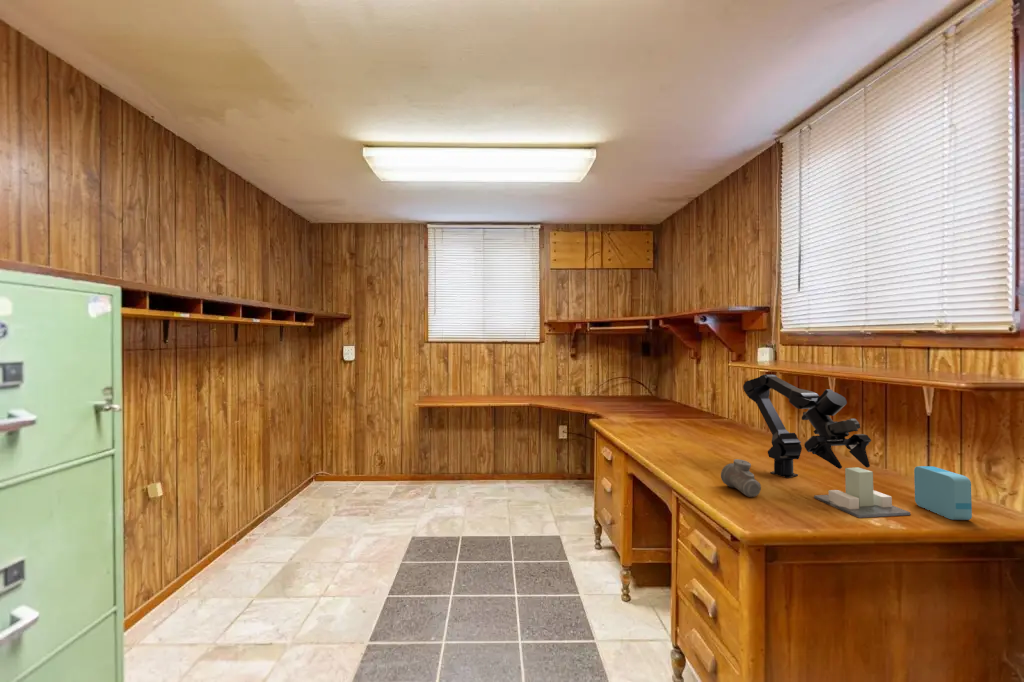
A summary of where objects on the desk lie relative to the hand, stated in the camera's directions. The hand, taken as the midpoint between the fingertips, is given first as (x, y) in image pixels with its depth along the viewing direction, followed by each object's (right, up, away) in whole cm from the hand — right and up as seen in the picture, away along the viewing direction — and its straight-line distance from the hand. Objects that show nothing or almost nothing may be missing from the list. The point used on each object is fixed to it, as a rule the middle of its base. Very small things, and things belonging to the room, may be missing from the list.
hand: (854, 467), depth 123 cm
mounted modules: (0, -11, -1) cm, 11 cm away
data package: (+19, -11, -7) cm, 23 cm away
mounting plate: (0, -11, -1) cm, 11 cm away
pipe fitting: (-28, -12, +12) cm, 32 cm away
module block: (0, -10, -1) cm, 10 cm away
